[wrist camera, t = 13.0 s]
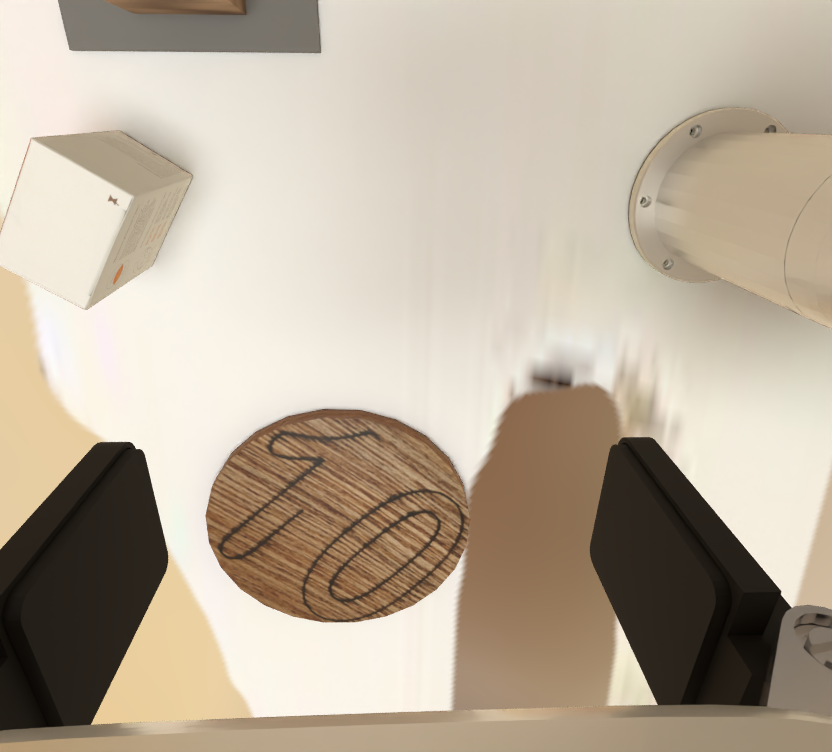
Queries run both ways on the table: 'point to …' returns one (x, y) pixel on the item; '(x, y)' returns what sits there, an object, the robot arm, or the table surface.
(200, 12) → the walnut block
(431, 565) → the trivet
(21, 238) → the small box
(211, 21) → the slate mat
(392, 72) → the table surface
